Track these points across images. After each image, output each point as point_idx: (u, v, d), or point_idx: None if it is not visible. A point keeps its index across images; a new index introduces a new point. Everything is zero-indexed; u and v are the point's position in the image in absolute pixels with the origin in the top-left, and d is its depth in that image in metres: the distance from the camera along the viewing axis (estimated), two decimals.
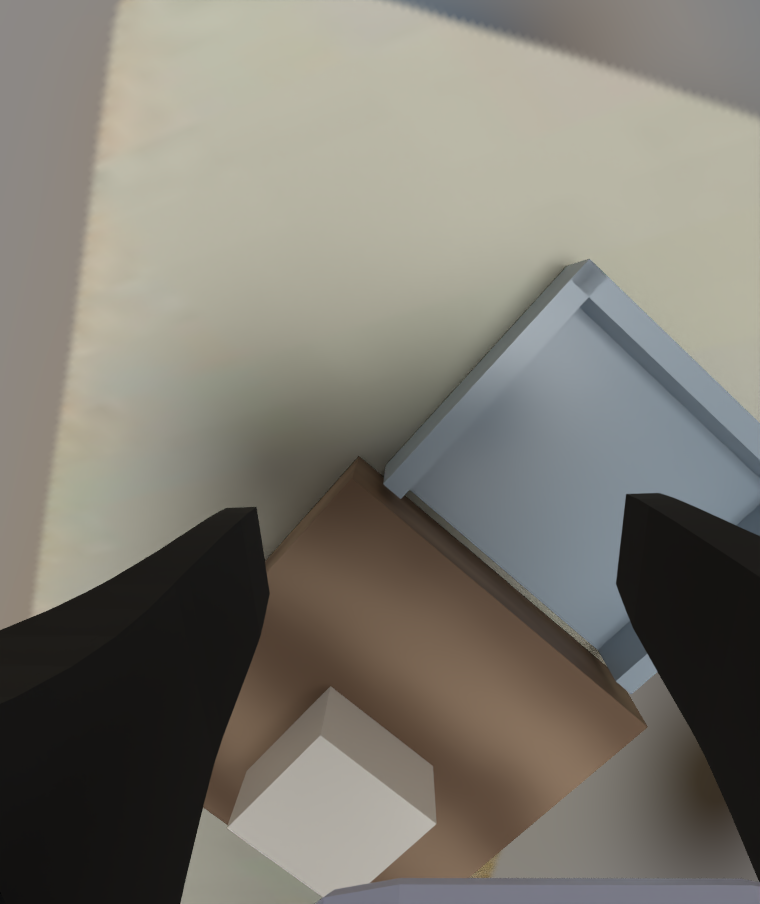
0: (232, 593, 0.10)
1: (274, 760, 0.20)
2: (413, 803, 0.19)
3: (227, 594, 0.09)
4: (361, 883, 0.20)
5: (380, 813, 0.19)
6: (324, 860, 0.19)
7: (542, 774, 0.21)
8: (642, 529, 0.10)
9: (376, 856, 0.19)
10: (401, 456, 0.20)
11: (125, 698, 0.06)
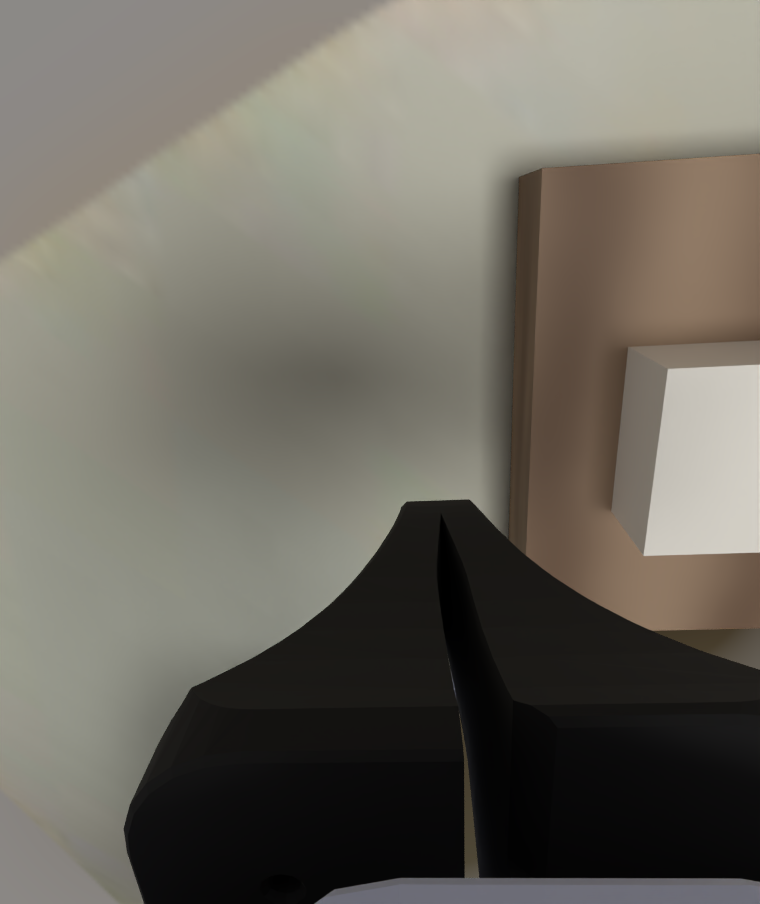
0: (440, 587, 0.09)
1: (735, 352, 0.14)
2: None
3: (440, 588, 0.09)
4: (699, 548, 0.15)
5: None
6: (704, 494, 0.14)
7: None
8: (441, 535, 0.10)
9: (750, 533, 0.15)
10: None
11: None
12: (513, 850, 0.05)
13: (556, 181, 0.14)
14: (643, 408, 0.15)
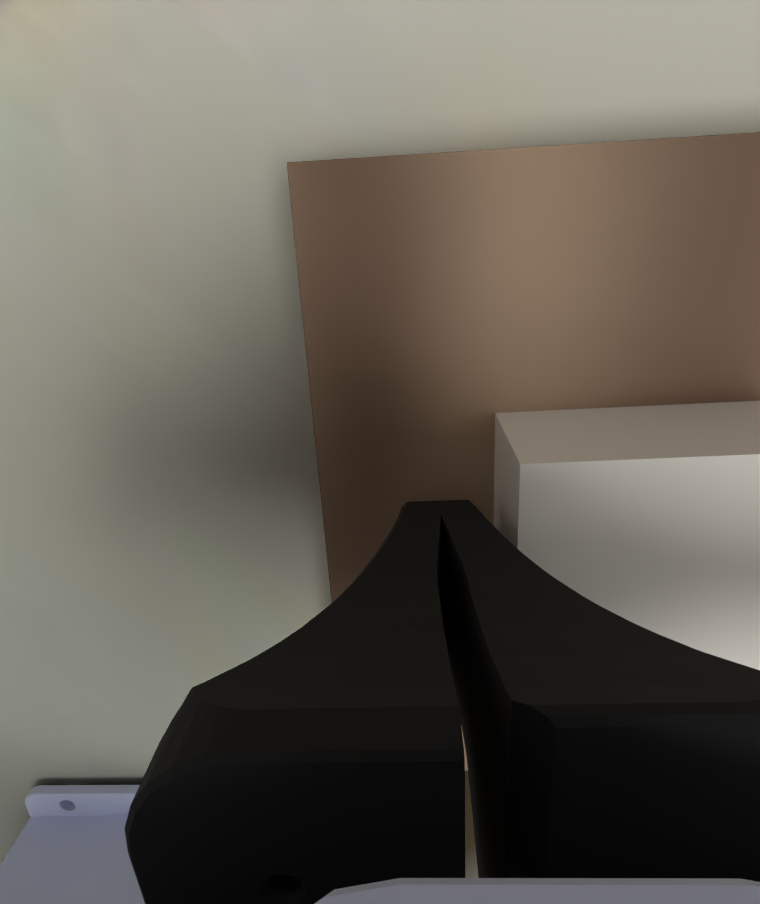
0: (441, 587, 0.09)
1: (634, 429, 0.10)
2: None
3: (441, 588, 0.09)
4: None
5: (754, 637, 0.10)
6: None
7: None
8: None
9: None
10: None
11: None
12: (512, 850, 0.05)
13: (310, 182, 0.10)
14: (506, 507, 0.10)
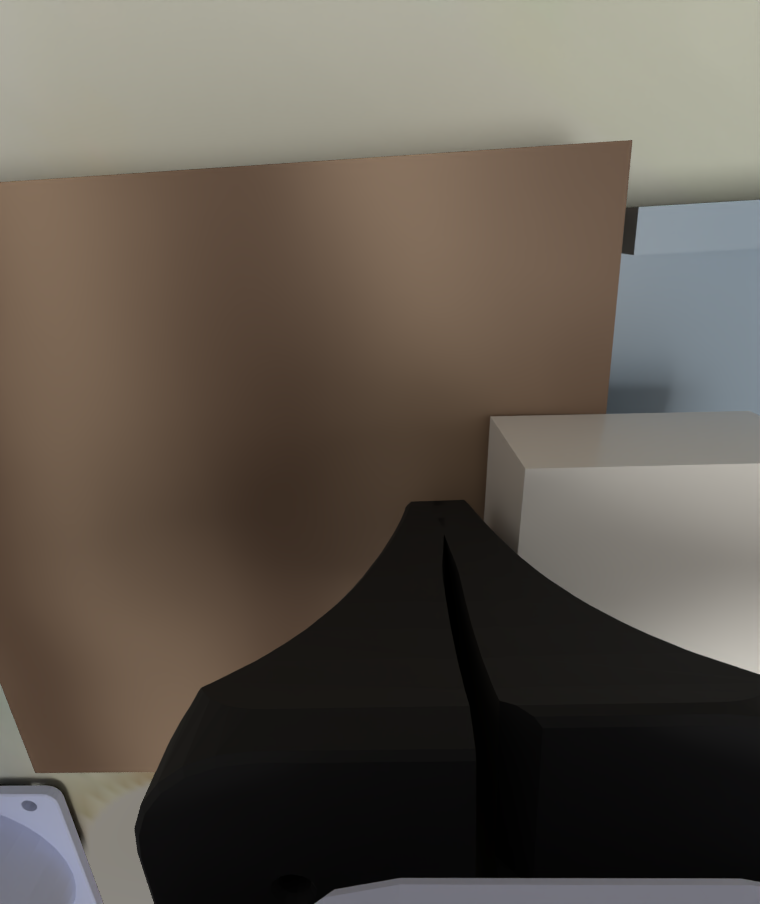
0: None
1: (631, 436, 0.10)
2: None
3: (444, 588, 0.09)
4: None
5: (740, 642, 0.10)
6: None
7: None
8: None
9: None
10: None
11: None
12: (501, 850, 0.05)
13: None
14: (503, 512, 0.10)
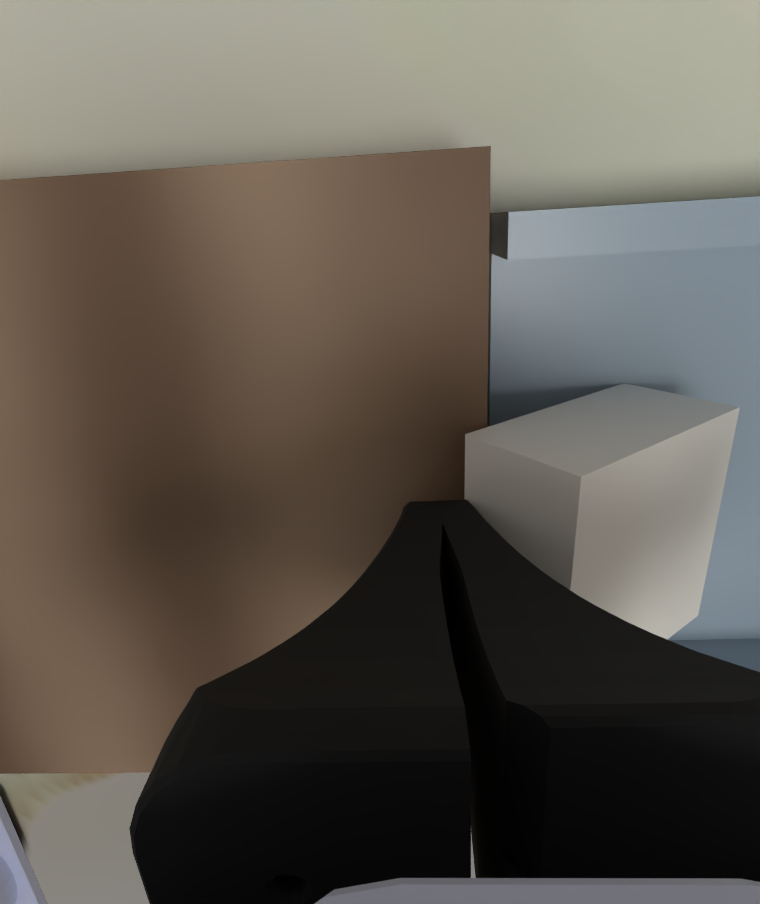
0: (443, 587, 0.09)
1: (595, 424, 0.11)
2: (700, 575, 0.13)
3: (442, 588, 0.09)
4: None
5: (686, 571, 0.12)
6: None
7: None
8: None
9: None
10: None
11: None
12: (507, 850, 0.05)
13: None
14: (522, 525, 0.10)
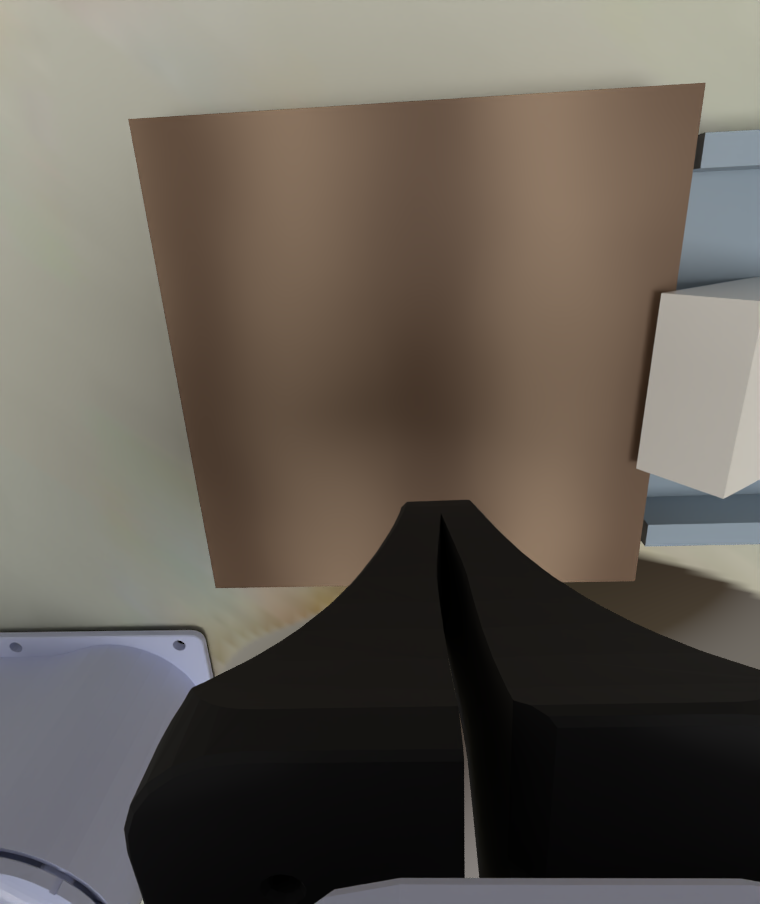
0: (440, 587, 0.09)
1: (753, 288, 0.15)
2: None
3: (440, 588, 0.09)
4: (752, 478, 0.15)
5: None
6: None
7: None
8: (440, 535, 0.10)
9: None
10: None
11: None
12: (513, 850, 0.05)
13: (145, 132, 0.14)
14: (707, 350, 0.14)
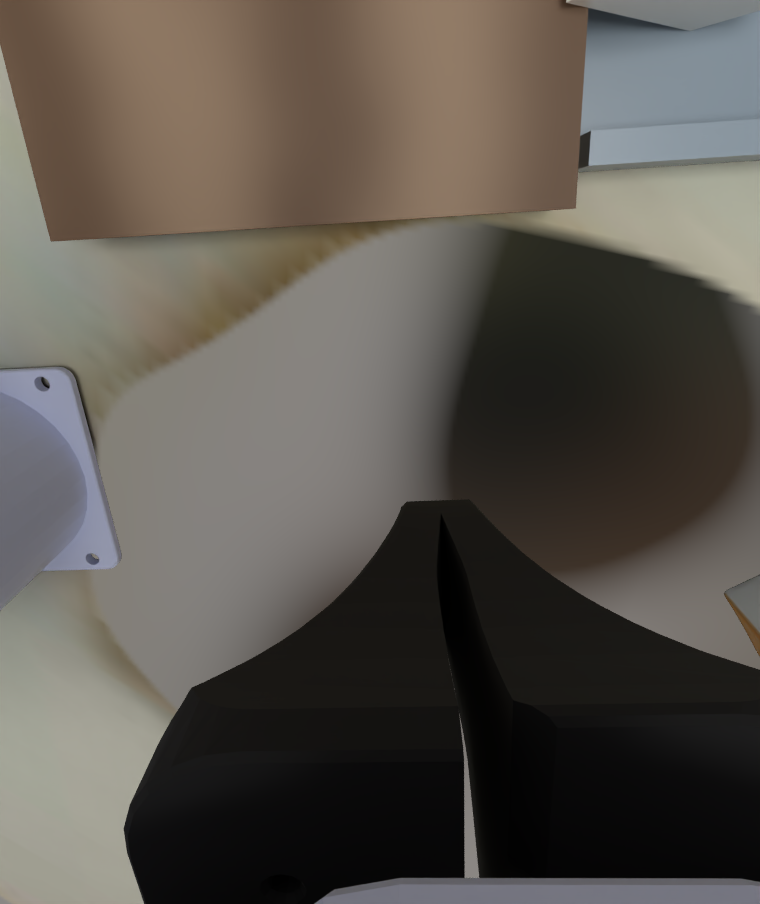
0: (440, 587, 0.09)
1: None
2: None
3: (439, 588, 0.09)
4: None
5: None
6: None
7: (418, 162, 0.14)
8: (441, 536, 0.10)
9: None
10: None
11: None
12: (513, 851, 0.05)
13: None
14: None
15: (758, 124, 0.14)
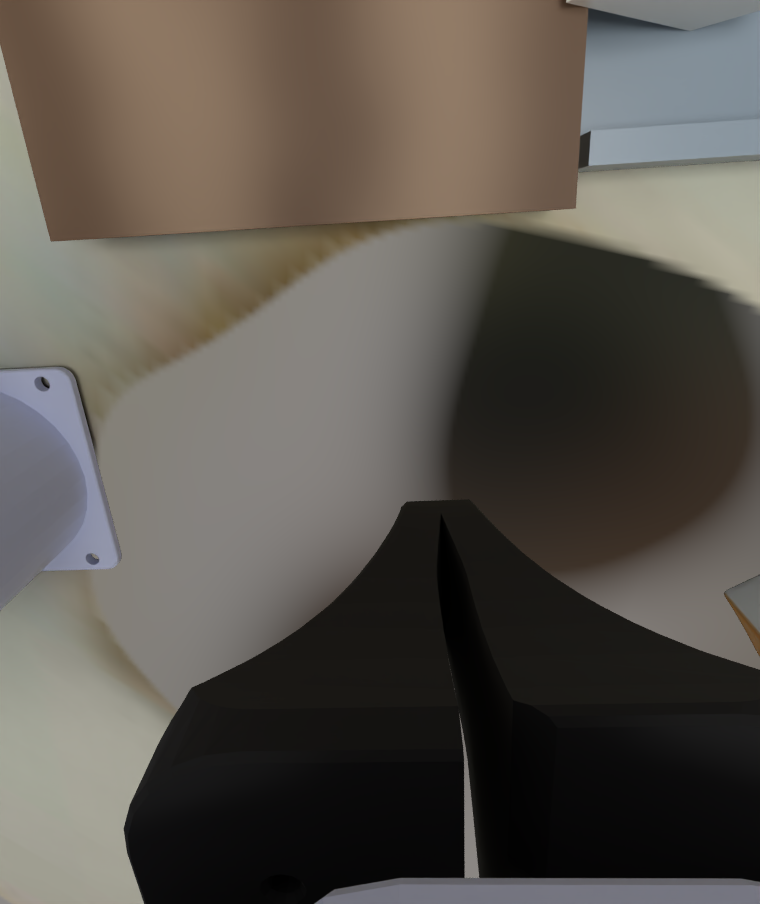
0: (440, 587, 0.09)
1: None
2: None
3: (439, 588, 0.09)
4: None
5: None
6: None
7: (418, 162, 0.14)
8: (441, 536, 0.10)
9: None
10: None
11: None
12: (513, 851, 0.05)
13: None
14: None
15: (758, 124, 0.14)
